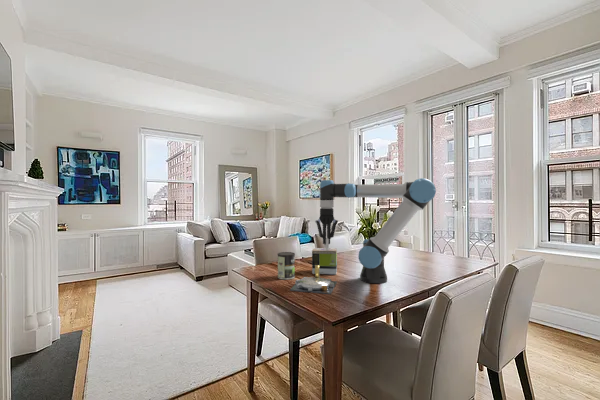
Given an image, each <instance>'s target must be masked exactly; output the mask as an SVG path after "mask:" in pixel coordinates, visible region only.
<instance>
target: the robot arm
mask: <svg viewBox="0 0 600 400" xmlns="http://www.w3.org/2000/svg"><path fill="white" fill-rule="evenodd" d="M436 192H437V189H436V186H435V184H434V182H432V181H431V180H430V179H427V178H423V177H422V178H418V179H415V180H414V181H409V182H408V181H406V182H404V183H393V184H392V183H388V184H387V183H386V184H385V183H383V184H382V183H381V184H379V183H378V184H374V183H369V184H368V183H367V184H355V183H335V182H334V180H332V179H331V180H330V179H329V180H328V179H323V180H320V185H319V198H320V199H319V207H320V209H319V218H318V219H316V220H315V221H314V222H315V224H316V227H317V231H318V235H319V237H320V238H322V244H323V245H324V246H323V247H324V250H326V251H329V245H330V244H331V239H332V238H334V236H335V232H336V227H337V224H338V223H339V220H338V219H335V217H334V198H350V199H351V198H370V199H371V198H378V199H379V198H382V199H383V198H384V199H385V198H386V199H387V198H388V199H389V198H390V199H392V198H393V199H394V198H395V199H398V198H400V199H402V202H401V203H400V204H399V205H398V206H397V208H396V209H395V210H394V212H393V213H392V214H391V216H390V217H389V218H388V219H387V221H386V222H384V225H382V227H381V228H380V230H379V231H377V233H376V235H375V236H374V237H373V236H372V237H370V238H369V239H363V240H362V247H361V248H360V250H359V251H358V254H357V255H358V260H359V263H360V264H361V265H362V269H361V272H360V273H359V280H360V281H362V282H363V283H369V284H384V283H387V282H388V275H387V272H386V269H385V257H386V256H387V254H388V253H389V252H390V250H389V249H390V246H391V244H393V242H394V241H395V239H396V238H397V237H398V236H400V234H401V232H402V231H403V230H404V229H405V227H406V226H407V224H409V222H410V221H411V220H412V218H413V217H414V216H415V215H416V213H417V212H418V211H423V210H424V208H425V207H426V206H427V205H428V204H429V203H430V202H431V201H432V200H433V199H434V197H435V195H436ZM321 224H322V225H321ZM321 226H322V227H321Z"/></svg>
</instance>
